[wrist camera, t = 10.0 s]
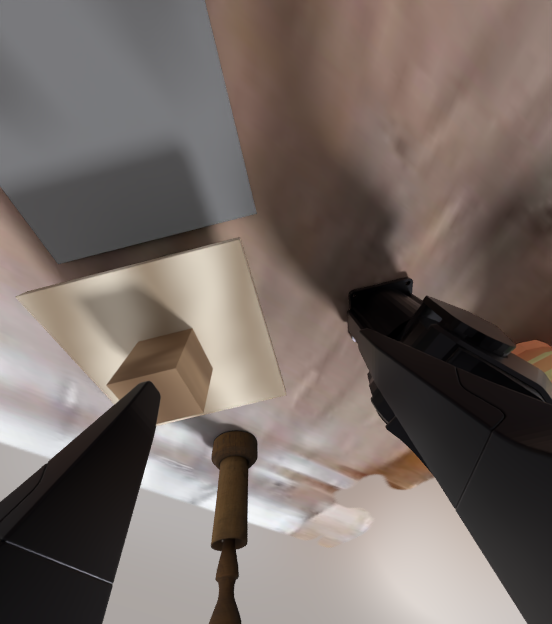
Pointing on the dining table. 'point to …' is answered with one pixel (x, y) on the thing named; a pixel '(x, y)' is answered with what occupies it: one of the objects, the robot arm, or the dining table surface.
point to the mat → (115, 123)
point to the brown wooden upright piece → (230, 515)
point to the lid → (168, 330)
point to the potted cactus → (536, 355)
